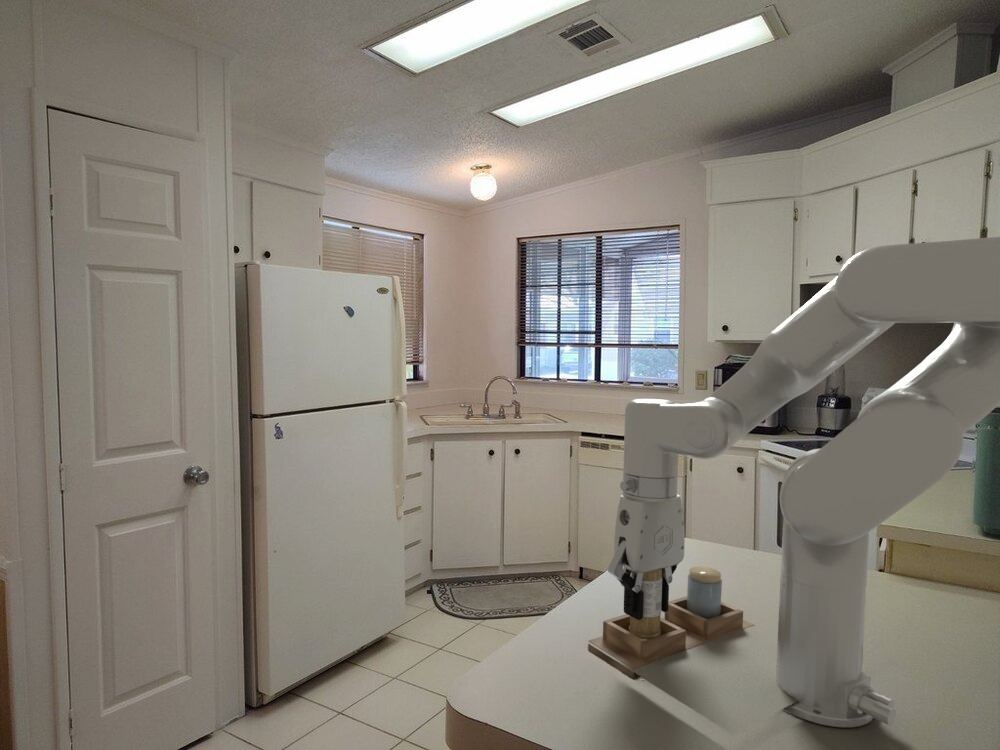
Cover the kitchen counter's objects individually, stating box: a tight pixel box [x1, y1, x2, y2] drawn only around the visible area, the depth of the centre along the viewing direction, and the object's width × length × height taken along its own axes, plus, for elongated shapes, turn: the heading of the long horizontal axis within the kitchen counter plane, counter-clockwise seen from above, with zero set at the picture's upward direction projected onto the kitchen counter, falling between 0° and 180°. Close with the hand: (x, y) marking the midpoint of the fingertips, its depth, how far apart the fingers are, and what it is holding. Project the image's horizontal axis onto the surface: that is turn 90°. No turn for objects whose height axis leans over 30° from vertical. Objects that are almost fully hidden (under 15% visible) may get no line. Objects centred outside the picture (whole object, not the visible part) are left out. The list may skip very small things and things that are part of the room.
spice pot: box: [686, 566, 723, 620], centre depth 95 cm, size 5×5×8 cm
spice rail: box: [587, 595, 755, 681], centre depth 91 cm, size 9×26×4 cm, turn 123°
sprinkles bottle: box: [629, 569, 662, 640], centre depth 87 cm, size 5×5×13 cm
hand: (645, 610), depth 87 cm, fingers closed on sprinkles bottle, 4 cm apart
